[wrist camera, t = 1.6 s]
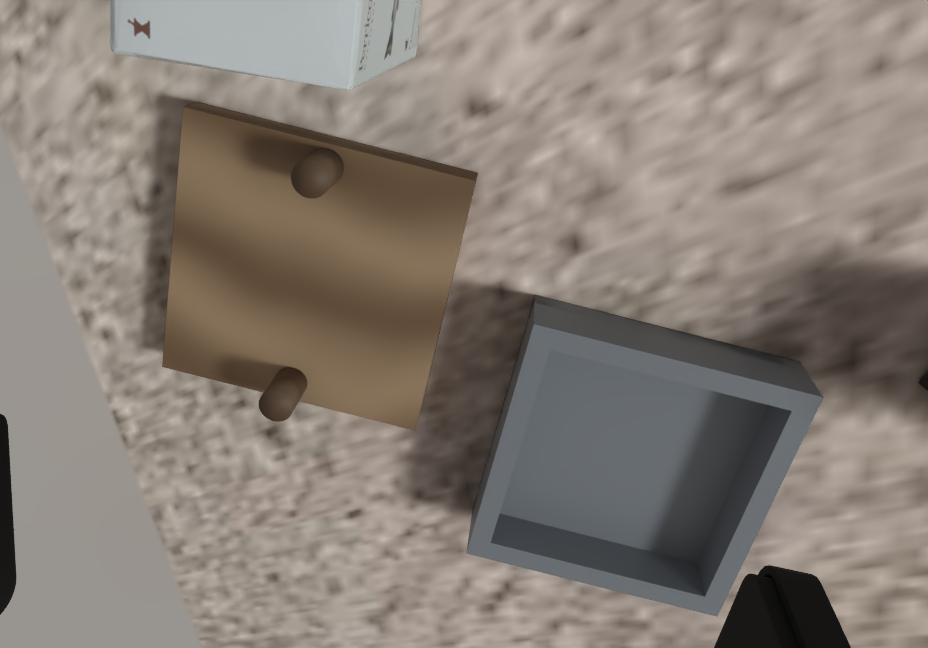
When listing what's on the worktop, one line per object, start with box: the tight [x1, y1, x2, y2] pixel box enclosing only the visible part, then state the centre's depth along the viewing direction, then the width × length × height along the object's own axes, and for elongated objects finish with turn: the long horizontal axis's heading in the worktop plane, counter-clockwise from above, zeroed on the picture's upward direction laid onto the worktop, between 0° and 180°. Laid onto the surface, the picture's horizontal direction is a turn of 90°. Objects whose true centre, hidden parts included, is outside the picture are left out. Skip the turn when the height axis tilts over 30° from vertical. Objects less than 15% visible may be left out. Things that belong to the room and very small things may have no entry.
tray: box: [467, 295, 823, 616], centre depth 39 cm, size 13×13×4 cm
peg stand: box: [162, 102, 478, 430], centre depth 36 cm, size 13×13×4 cm
